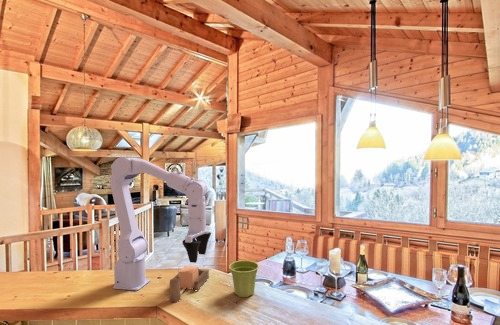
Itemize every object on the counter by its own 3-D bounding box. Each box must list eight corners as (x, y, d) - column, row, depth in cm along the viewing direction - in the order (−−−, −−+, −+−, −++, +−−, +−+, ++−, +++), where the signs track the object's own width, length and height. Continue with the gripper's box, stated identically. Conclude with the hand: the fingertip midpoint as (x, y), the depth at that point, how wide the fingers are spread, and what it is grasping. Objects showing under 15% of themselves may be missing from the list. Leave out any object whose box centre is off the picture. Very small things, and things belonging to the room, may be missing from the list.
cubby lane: (171, 289, 92) (171, 280, 92) (184, 276, 102) (184, 268, 102) (198, 291, 90) (197, 281, 90) (208, 277, 100) (208, 269, 100)
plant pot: (260, 286, 92) (259, 260, 92) (258, 300, 83) (257, 271, 83) (232, 286, 93) (231, 260, 93) (227, 300, 84) (226, 271, 84)
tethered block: (165, 301, 84) (164, 281, 84) (185, 281, 97) (184, 264, 97) (180, 303, 83) (180, 282, 83) (198, 282, 96) (198, 265, 96)
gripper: (200, 222, 85) (200, 266, 85) (215, 213, 99) (216, 251, 99) (178, 221, 86) (179, 265, 86) (197, 212, 100) (197, 250, 101)
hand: (197, 257), depth 93 cm, fingers open, 7 cm apart
